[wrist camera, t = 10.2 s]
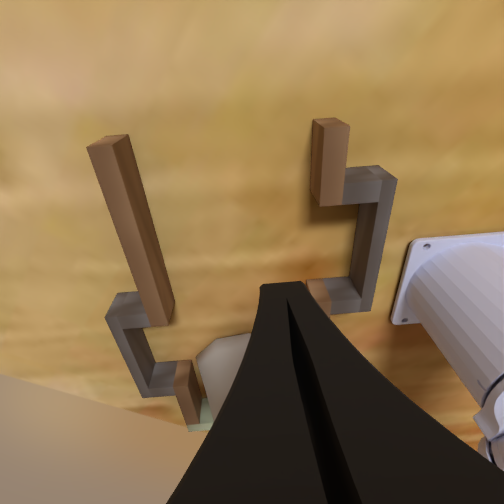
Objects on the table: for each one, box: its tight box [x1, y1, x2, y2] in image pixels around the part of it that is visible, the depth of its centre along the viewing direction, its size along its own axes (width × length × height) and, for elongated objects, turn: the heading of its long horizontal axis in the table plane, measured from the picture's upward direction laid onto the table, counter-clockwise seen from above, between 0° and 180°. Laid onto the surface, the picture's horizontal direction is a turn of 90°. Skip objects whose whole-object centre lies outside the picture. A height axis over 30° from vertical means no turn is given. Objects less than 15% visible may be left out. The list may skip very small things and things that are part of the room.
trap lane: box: [86, 118, 398, 432], centre depth 22 cm, size 18×26×2 cm
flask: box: [196, 333, 251, 421], centre depth 22 cm, size 7×7×10 cm
